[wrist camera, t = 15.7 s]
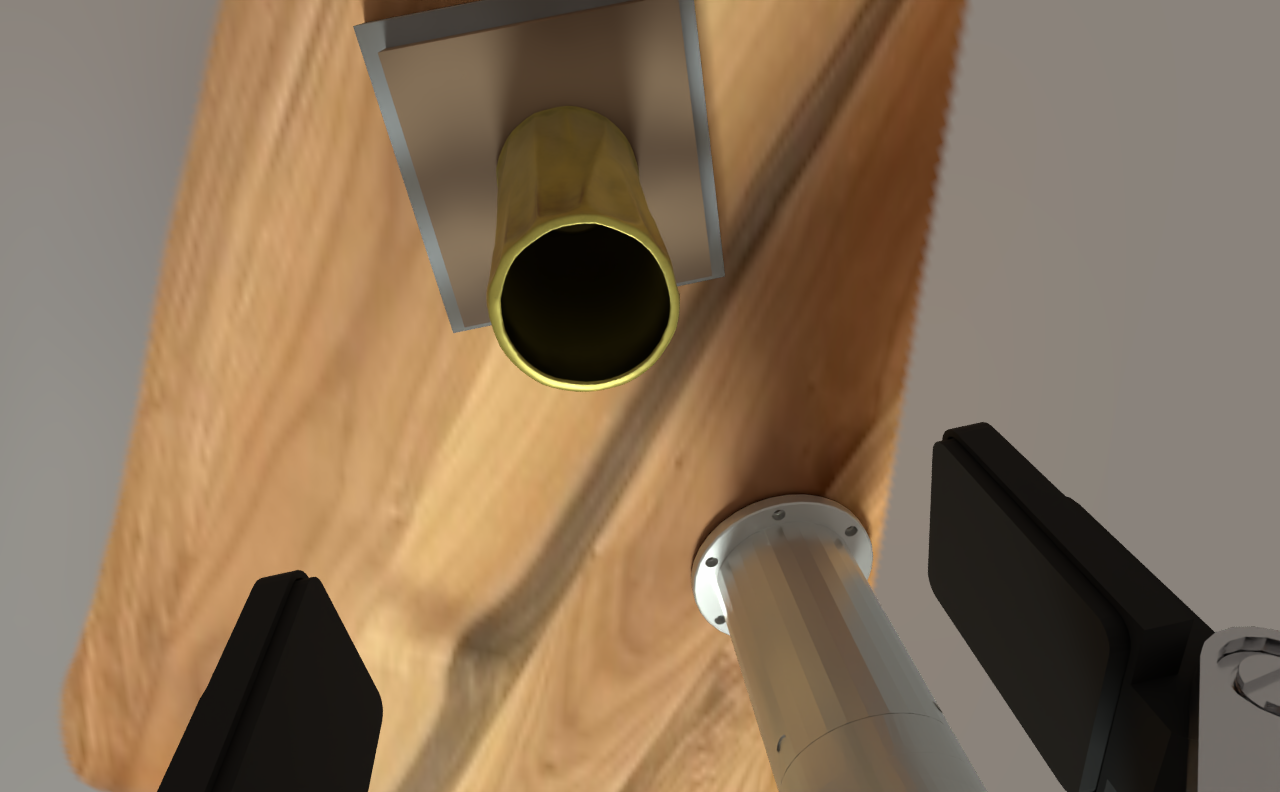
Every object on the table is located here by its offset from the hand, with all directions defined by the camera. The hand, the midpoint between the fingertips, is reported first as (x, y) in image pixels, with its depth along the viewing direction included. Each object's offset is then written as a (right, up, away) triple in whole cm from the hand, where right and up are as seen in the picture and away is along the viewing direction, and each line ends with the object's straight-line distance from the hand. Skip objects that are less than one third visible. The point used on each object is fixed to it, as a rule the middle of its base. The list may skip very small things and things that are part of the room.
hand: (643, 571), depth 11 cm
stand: (-4, +14, +25) cm, 29 cm away
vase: (-3, +12, +21) cm, 25 cm away
